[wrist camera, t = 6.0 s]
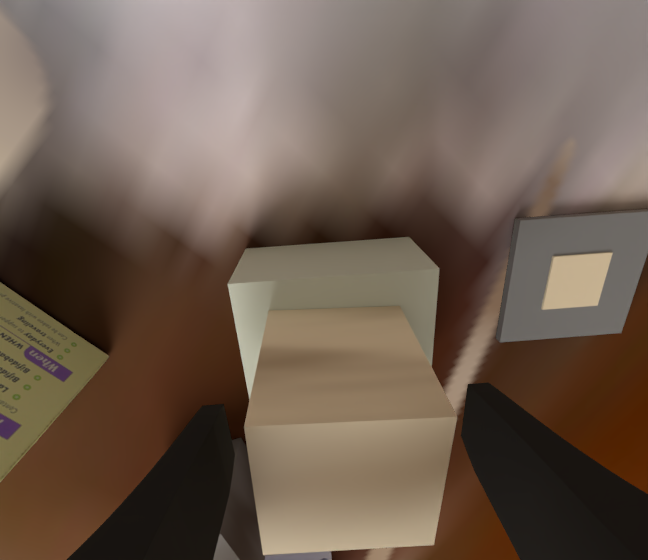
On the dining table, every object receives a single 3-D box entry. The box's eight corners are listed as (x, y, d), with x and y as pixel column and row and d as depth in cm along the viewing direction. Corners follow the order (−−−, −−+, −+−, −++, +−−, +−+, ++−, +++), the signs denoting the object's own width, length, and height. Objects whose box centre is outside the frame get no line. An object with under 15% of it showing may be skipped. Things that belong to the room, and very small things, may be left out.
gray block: (271, 488, 21) (261, 589, 16) (202, 507, 21) (174, 611, 17) (240, 436, 19) (220, 533, 14) (166, 458, 19) (123, 559, 15)
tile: (614, 328, 17) (622, 334, 17) (495, 337, 17) (501, 343, 17) (652, 208, 15) (663, 210, 14) (515, 218, 15) (521, 221, 14)
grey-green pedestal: (402, 365, 18) (426, 426, 14) (267, 376, 18) (257, 440, 14) (407, 235, 15) (439, 268, 11) (246, 246, 15) (227, 283, 11)
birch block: (391, 406, 14) (433, 545, 9) (278, 411, 14) (262, 555, 9) (399, 305, 12) (457, 416, 7) (268, 310, 12) (243, 426, 7)
